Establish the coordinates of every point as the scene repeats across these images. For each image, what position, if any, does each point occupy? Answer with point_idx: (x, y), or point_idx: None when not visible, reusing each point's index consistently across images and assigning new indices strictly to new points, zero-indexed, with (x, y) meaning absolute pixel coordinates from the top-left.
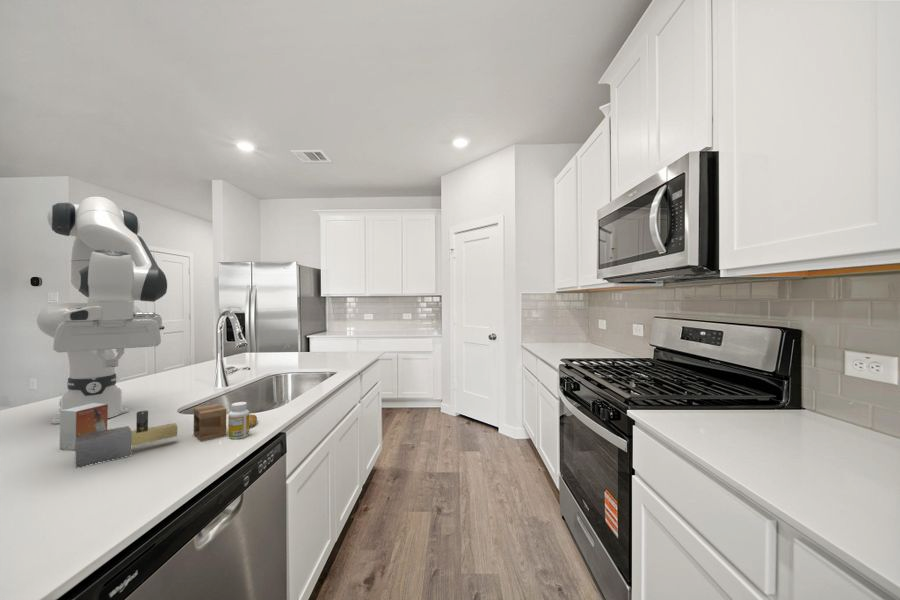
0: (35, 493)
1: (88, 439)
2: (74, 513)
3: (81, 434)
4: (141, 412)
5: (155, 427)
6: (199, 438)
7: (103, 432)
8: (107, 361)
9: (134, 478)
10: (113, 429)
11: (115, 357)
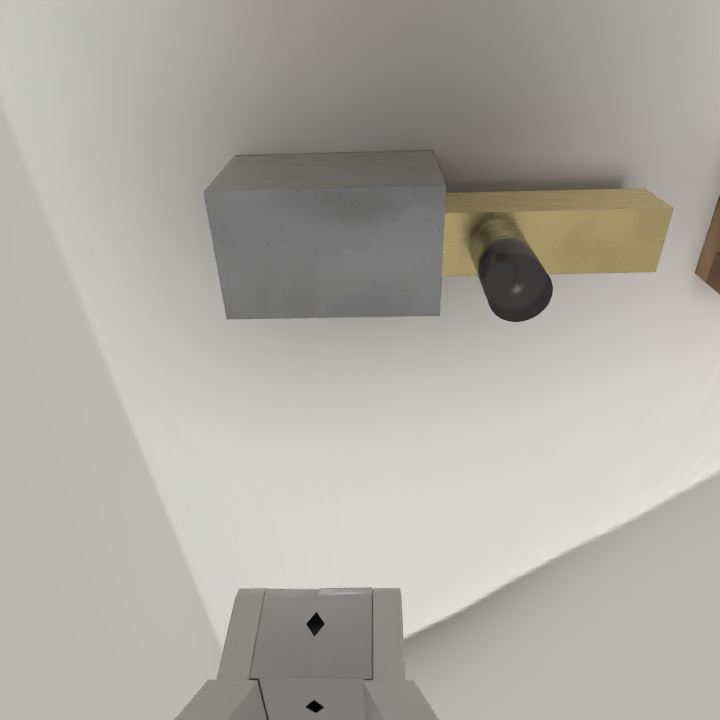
0: (179, 408)
1: (269, 317)
2: (283, 560)
3: (227, 193)
4: (511, 306)
5: (562, 232)
6: (705, 258)
7: (325, 233)
8: (283, 716)
9: (404, 471)
10: (371, 207)
11: (376, 712)
